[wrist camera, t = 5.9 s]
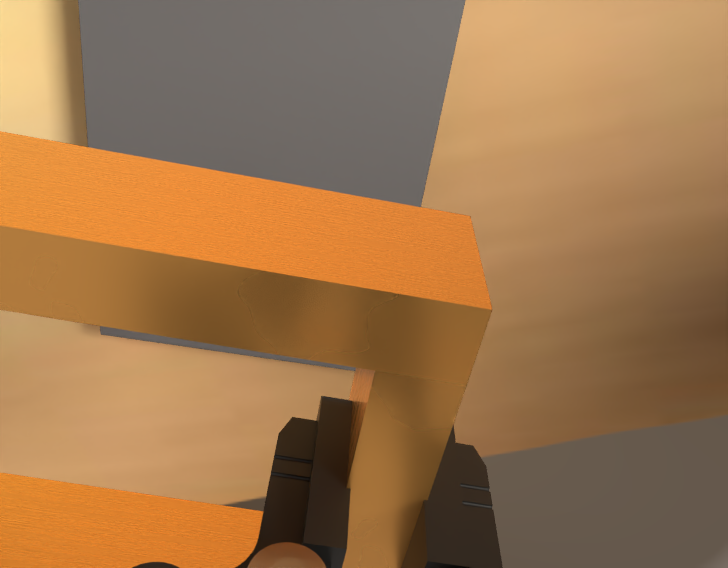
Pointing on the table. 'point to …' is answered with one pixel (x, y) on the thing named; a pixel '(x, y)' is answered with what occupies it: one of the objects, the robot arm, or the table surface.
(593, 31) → the table surface
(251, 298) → the link ring
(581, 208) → the table surface
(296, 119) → the plate
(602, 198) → the table surface
